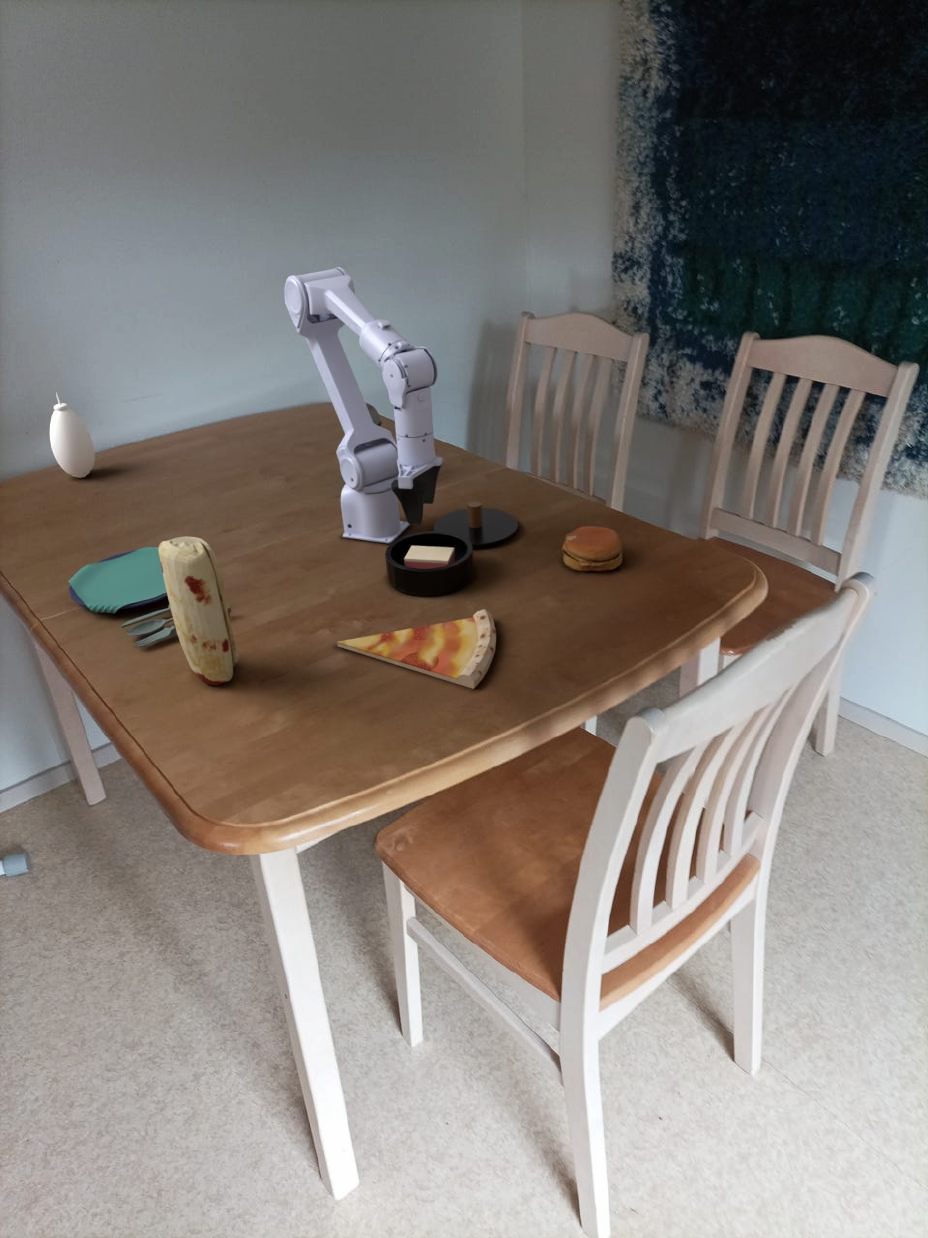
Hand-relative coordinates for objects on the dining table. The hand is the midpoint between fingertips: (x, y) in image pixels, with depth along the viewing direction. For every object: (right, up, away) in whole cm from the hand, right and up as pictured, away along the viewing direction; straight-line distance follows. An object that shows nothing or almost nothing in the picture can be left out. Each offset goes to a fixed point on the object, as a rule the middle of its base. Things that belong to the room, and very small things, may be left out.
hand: (420, 512), depth 140 cm
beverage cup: (-12, +11, +34) cm, 38 cm away
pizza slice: (+3, -20, -17) cm, 27 cm away
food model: (-27, -25, -22) cm, 43 cm away
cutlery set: (-43, -14, -3) cm, 45 cm away
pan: (+2, -10, -1) cm, 10 cm away
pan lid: (+9, -1, +11) cm, 14 cm away
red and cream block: (+2, -10, -2) cm, 10 cm away
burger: (+27, -8, 0) cm, 29 cm away
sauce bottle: (-74, +13, +44) cm, 87 cm away
